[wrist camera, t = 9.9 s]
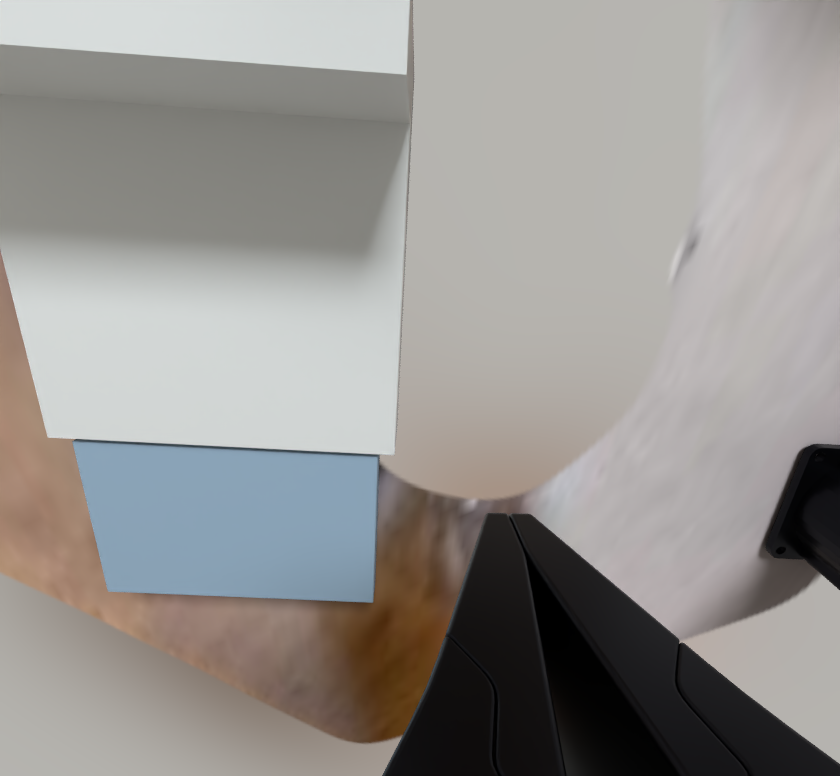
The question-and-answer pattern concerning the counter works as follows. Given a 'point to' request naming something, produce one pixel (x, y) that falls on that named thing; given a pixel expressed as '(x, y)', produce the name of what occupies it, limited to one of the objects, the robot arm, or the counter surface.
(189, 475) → the panel
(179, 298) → the white stepped block
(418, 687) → the counter surface
